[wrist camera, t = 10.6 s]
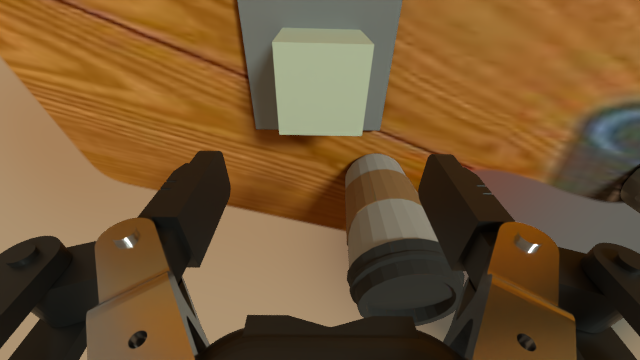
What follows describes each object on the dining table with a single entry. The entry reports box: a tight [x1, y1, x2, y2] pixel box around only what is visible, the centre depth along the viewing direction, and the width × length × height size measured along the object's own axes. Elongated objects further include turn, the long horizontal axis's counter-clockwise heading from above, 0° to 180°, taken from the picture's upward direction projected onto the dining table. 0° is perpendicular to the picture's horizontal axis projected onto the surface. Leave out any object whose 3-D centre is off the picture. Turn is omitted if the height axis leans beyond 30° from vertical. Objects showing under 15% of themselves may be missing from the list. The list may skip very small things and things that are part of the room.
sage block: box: [272, 28, 374, 136], centre depth 19 cm, size 6×6×6 cm
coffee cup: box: [345, 154, 464, 326], centre depth 24 cm, size 8×8×15 cm
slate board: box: [237, 0, 402, 130], centre depth 22 cm, size 12×11×1 cm
